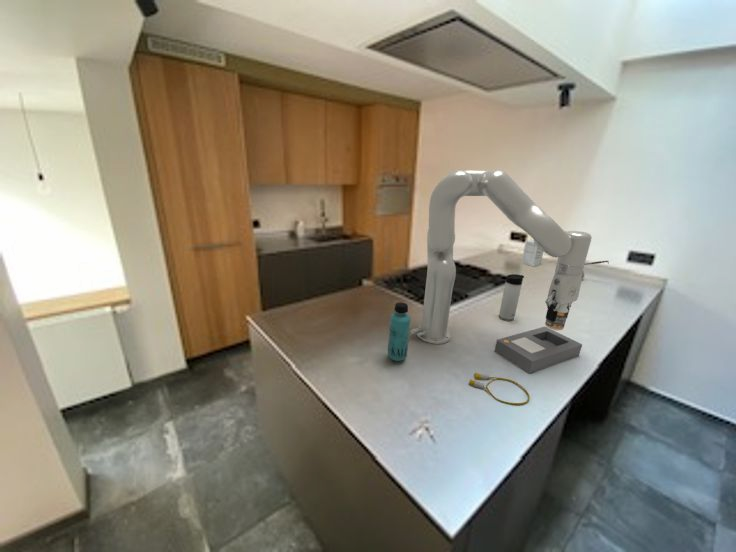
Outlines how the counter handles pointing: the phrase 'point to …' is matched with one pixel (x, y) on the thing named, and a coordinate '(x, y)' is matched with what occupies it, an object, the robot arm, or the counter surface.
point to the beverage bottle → (399, 332)
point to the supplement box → (531, 254)
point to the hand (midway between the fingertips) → (556, 318)
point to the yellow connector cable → (485, 377)
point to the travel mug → (510, 297)
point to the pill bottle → (558, 318)
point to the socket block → (537, 349)
